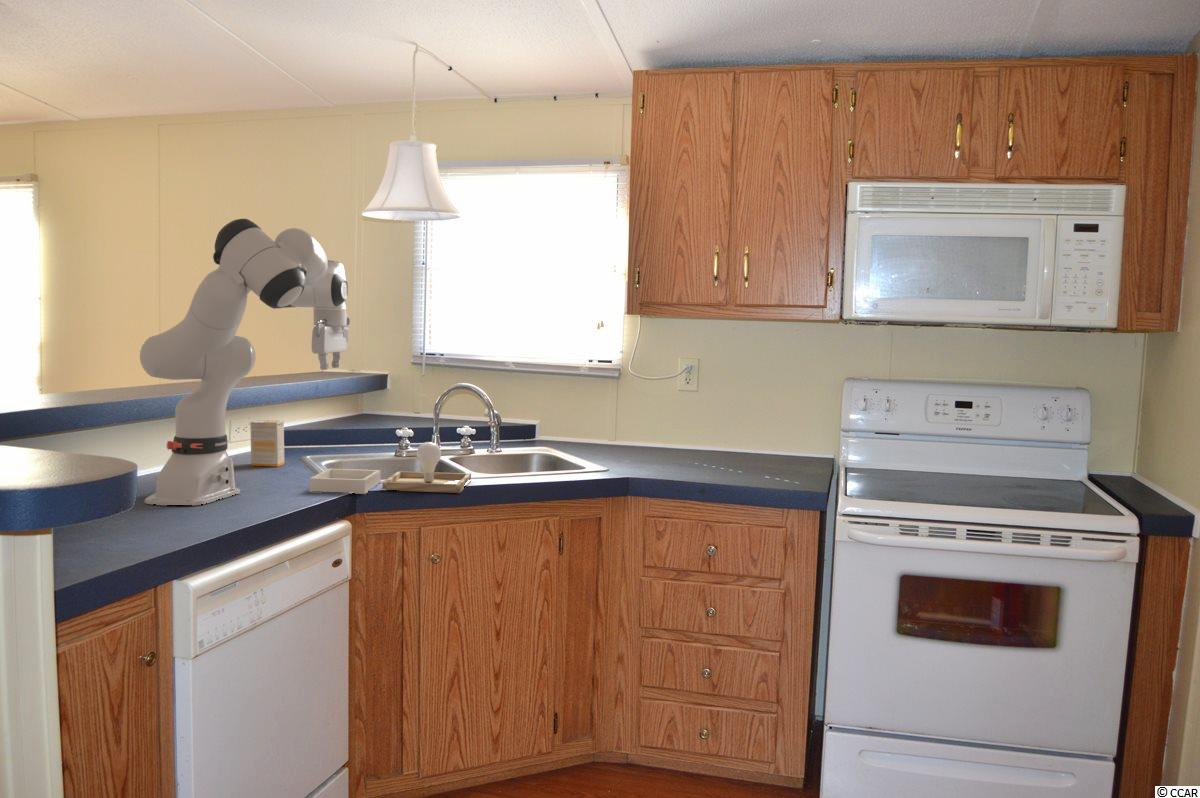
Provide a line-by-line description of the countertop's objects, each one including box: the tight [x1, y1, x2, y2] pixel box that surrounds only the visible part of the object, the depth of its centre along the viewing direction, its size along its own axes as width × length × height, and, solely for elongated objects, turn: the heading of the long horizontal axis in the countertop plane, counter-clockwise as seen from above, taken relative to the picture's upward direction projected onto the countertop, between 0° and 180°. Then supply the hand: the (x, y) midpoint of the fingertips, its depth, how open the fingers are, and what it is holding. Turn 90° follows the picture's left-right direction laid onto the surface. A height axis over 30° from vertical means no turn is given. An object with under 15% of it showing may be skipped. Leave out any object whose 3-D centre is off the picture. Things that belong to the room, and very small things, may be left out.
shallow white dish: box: [309, 468, 382, 495], centre depth 224 cm, size 14×14×4 cm
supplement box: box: [249, 419, 285, 468], centre depth 252 cm, size 8×5×13 cm, turn 84°
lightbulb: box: [416, 441, 442, 483], centre depth 230 cm, size 6×6×11 cm
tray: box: [381, 470, 472, 494], centre depth 230 cm, size 16×20×2 cm
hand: (330, 368), depth 245 cm, fingers open, 8 cm apart
